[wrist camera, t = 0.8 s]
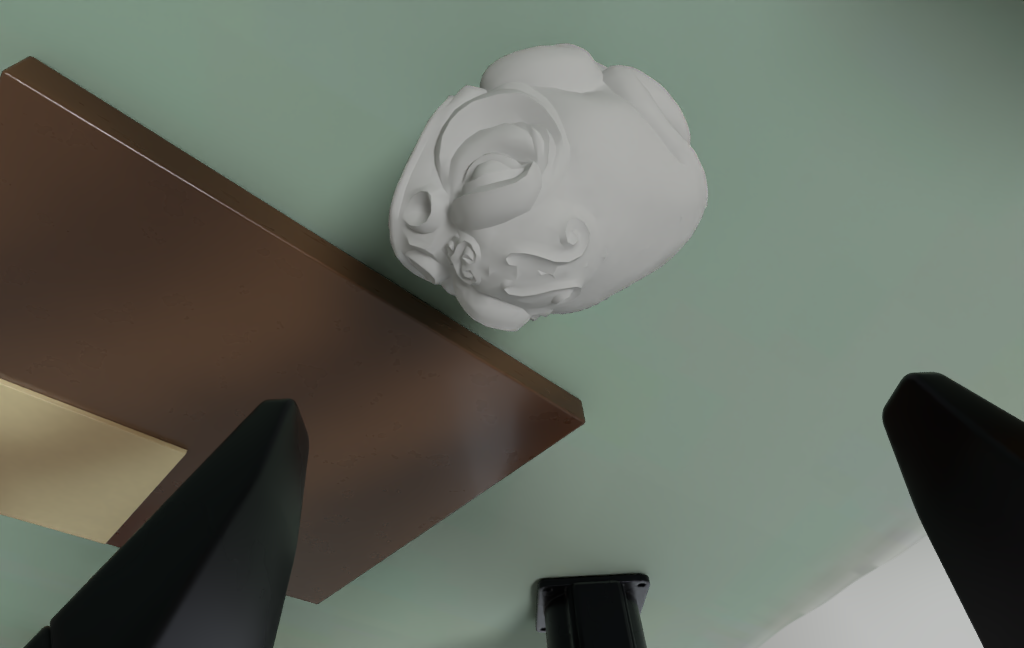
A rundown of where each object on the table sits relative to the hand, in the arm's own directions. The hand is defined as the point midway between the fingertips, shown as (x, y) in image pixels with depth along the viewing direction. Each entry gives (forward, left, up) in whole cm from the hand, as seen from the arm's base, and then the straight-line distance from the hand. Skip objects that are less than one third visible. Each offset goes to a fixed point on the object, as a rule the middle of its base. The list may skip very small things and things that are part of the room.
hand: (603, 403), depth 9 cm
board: (-12, +12, -10) cm, 20 cm away
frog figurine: (0, 0, -10) cm, 10 cm away
